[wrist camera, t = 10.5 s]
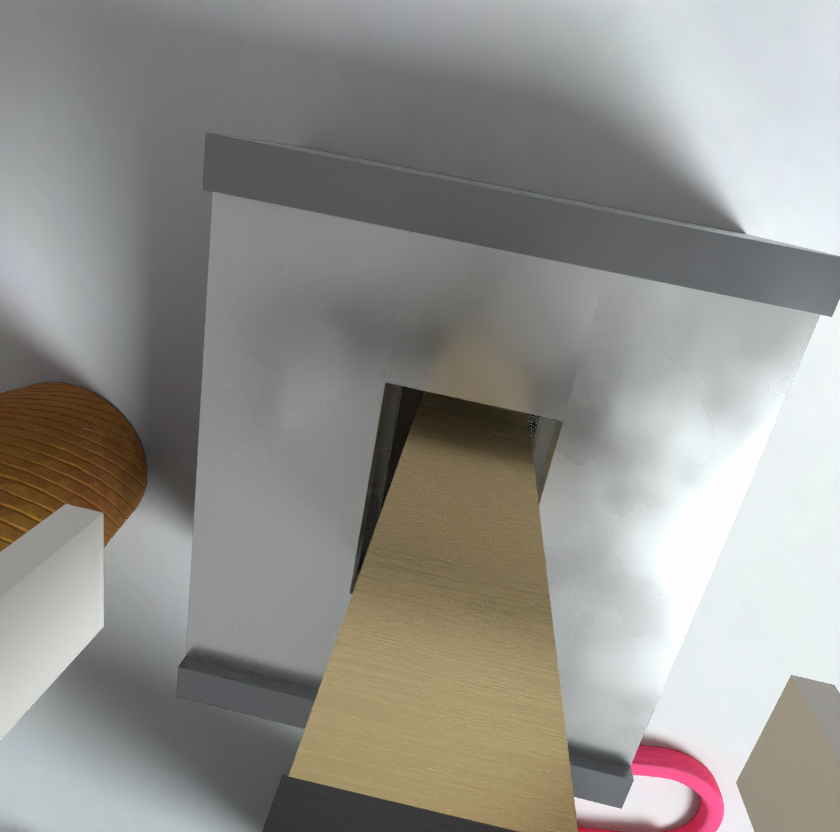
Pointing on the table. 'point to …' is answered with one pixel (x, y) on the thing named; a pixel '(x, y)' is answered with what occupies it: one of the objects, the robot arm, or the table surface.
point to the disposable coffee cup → (65, 458)
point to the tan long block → (443, 652)
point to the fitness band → (685, 772)
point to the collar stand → (484, 383)
